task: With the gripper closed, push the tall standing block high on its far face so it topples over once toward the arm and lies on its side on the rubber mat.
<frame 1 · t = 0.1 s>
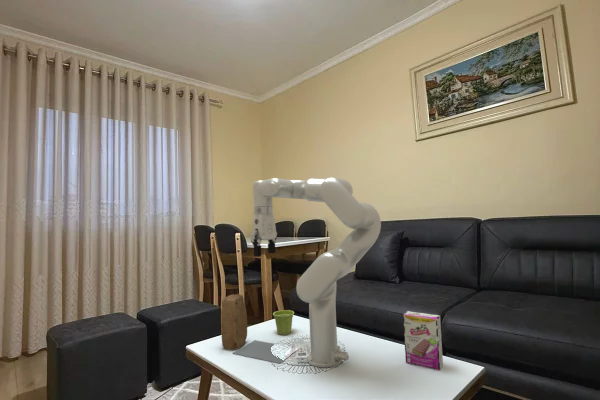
hand: (265, 254, 129), 37 cm above the table, tool pointing down, fingers open, 9 cm apart
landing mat: (266, 351, 125), on the table
plant pot: (284, 333, 144), on the table
candy bar box: (424, 365, 108), on the table
block: (235, 345, 132), on the table
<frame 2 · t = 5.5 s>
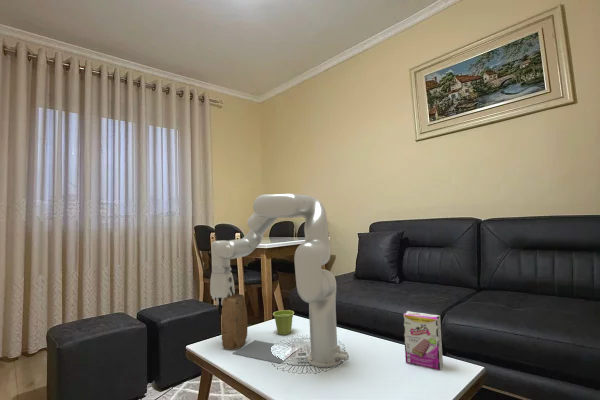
hand: (222, 314, 136), 12 cm above the table, tool pointing down, fingers closed
block: (235, 345, 132), on the table, touching gripper
everything else where it was.
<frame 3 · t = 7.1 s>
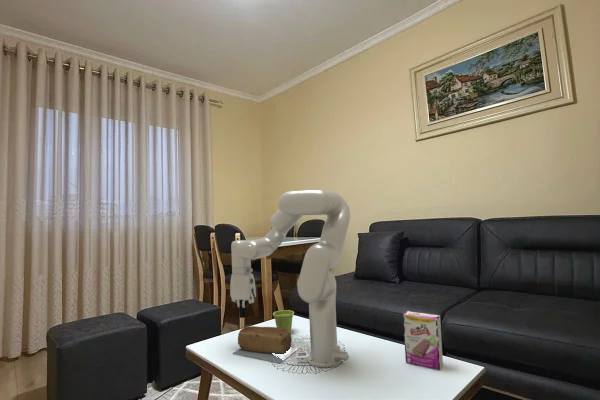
hand: (243, 316, 130), 12 cm above the table, tool pointing down, fingers closed
block: (242, 335, 131), point 4 cm above the table, touching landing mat
everything else where it was.
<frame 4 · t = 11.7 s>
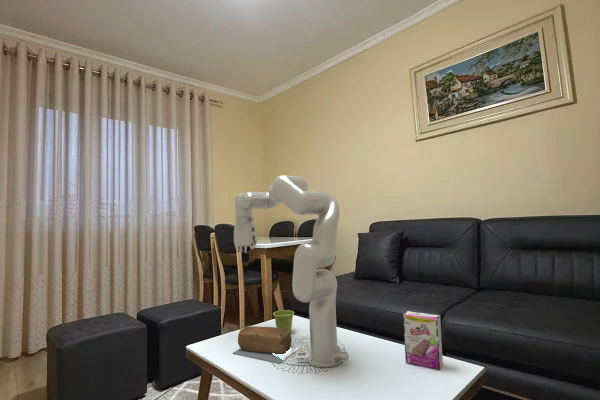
hand: (245, 261, 146), 32 cm above the table, tool pointing down, fingers closed
nothing on the table moved.
at the end: block tilted 91°; block inside the target area (1.5 cm from its centre), point 4.1 cm above the table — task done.
